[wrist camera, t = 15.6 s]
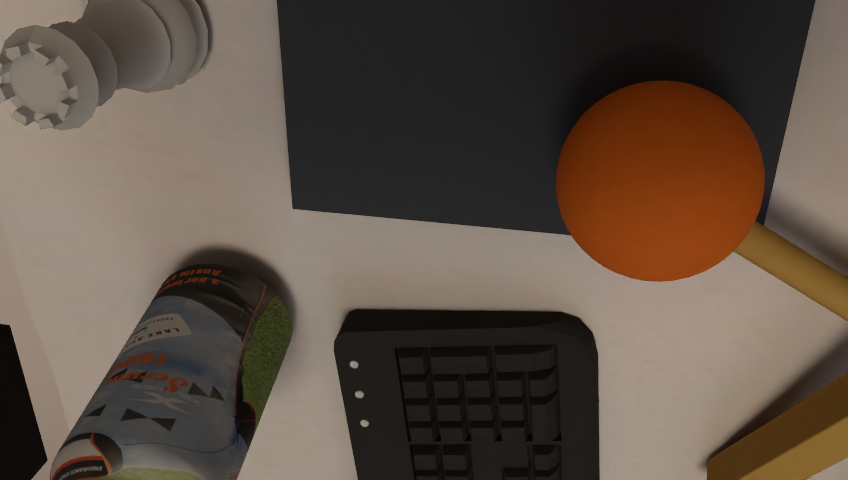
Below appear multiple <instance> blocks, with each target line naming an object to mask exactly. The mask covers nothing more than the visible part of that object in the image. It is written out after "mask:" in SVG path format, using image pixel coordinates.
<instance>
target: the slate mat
mask: <svg viewBox="0 0 848 480" xmlns="http://www.w3.org/2000/svg"><path fill="white" fill-rule="evenodd" d="M814 4H815V0H277V6H278V20H279V33H280V46H281V60H282V73H283V86H284V99H285V113H286V126H287V139H288V153H289V166H290V179H291V193H292V206H293V209H300V210H311V211H322V212H332V213H343V214H353V215H364V216H375V217H385V218H396V219H406V220H417V221H428V222H438V223H449V224H459V225H470V226H481V227H491V228H502V229H512V230H523V231H534V232H544V233H555V234H565V235H571V234H570V232H569V230H568V229H567V227H566V224H565V222H564V220H563V218H562V215H561V212H560V208H559V205H558V200H557V193H556V173H557V166H558V161H559V157H560V154H561V151H562V148H563V145H564V143H565V141H566V139H567V137H568V135H569V133H570V132H571V130H572V128H573V127H574V126H575V124H576V123H577V122H578V120H579V119H580V118H581V117H582V115H583V114H584V113H585V112H586V111H587V110H589V109H590V108H591V107H592V106H593V105H594V104H595V103H597V102H598V101H600V100H601V99H603V98H604V97H606V96H607V95H609V94H611V93H613V92H615V91H617V90H619V89H621V88H624V87H627V86H630V85H633V84H636V83H642V82H647V81H663V80H666V81H678V82H683V83H688V84H692V85H695V86H697V87H700V88H703V89H705V90H708V91H710V92H711V93H713V94H715V95H717V96H719V97H720V98H722V99H723V100H724V101H726V102H727V103H728V104H730V105H731V106H732V107H733V108H734V109H735V110H736V111H737V112H738V113H739V114H740V115H741V116H742V117H743V119H744V120H745V121H746V123H747V124H748V126H749V127H750V128H751V130H752V132H753V134H754V136H755V138H756V140H757V143H758V145H759V148H760V151H761V154H762V159H763V165H764V171H765V185H764V193H763V199H762V204H761V208H760V210H759V213H758V216H757V218H756V221H757V222H759V223H760V224H762V225H764V222H765V217H766V213H767V209H768V204H769V200H770V196H771V191H772V187H773V183H774V178H775V174H776V169H777V165H778V161H779V156H780V152H781V148H782V143H783V139H784V135H785V130H786V126H787V121H788V117H789V113H790V108H791V104H792V100H793V95H794V91H795V87H796V82H797V78H798V73H799V69H800V65H801V60H802V56H803V52H804V47H805V43H806V39H807V34H808V30H809V25H810V21H811V17H812V12H813V8H814Z"/></svg>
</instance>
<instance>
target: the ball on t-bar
mask: <svg viewBox="0 0 848 480" xmlns="http://www.w3.org/2000/svg"><path fill="white" fill-rule="evenodd" d="M764 185H765V171H764V165H763V159H762V154H761V151H760V148H759V145H758V143H757V140H756V138H755V136H754V134H753V132H752V130H751V128H750V127H749V126H748V124H747V123H746V121H745V120H744V119H743V117H742V116H741V115H740V114H739V113H738V112H737V111H736V110H735V109H734V108H733V107H732V106H731V105H730V104H728V103H727V102H726V101H724V100H723V99H722V98H720V97H719V96H717V95H715V94H713V93H711V92H710V91H708V90H705V89H703V88H700V87H697V86H695V85H692V84H688V83H683V82H678V81H666V80H663V81H647V82H642V83H636V84H633V85H630V86H627V87H624V88H621V89H619V90H617V91H615V92H613V93H611V94H609V95H607V96H606V97H604V98H603V99H601V100H600V101H598V102H597V103H595V104H594V105H593V106H592V107H591V108H590V109H589V110H587V111H586V112H585V113H584V114H583V115H582V117H581V118H580V119H579V120H578V122H577V123H576V124H575V126H574V127H573V128H572V130H571V132H570V133H569V135H568V137H567V139H566V141H565V143H564V145H563V148H562V151H561V154H560V157H559V161H558V166H557V173H556V193H557V200H558V205H559V208H560V212H561V215H562V218H563V220H564V222H565V224H566V227H567V229H568V230H569V232H570V234H571V235H572V237H573V238H574V240H575V241H576V242H577V243H578V245H579V246H580V247H581V248H582V249H583V250H584V251H585V252H586V253H587V254H588V255H589V256H590V257H591V258H592V259H594V260H595V261H596V262H598V263H599V264H601V265H602V266H604V267H606V268H608V269H609V270H611V271H613V272H616V273H618V274H621V275H624V276H627V277H630V278H634V279H638V280H644V281H673V280H678V279H682V278H687V277H691V276H693V275H696V274H699V273H701V272H704V271H706V270H708V269H710V268H711V267H713V266H715V265H716V264H718V263H720V262H721V261H723V260H724V259H725V258H726V257H728V256H729V255H730V254H731V253H732V252H733V251H734V252H736V253H737V254H739V255H741V256H742V257H744V258H745V259H747V260H749V261H750V262H752V263H754V264H755V265H757V266H758V267H760V268H762V269H763V270H765V271H767V272H768V273H770V274H771V275H773V276H775V277H776V278H778V279H780V280H781V281H783V282H785V283H786V284H788V285H789V286H791V287H793V288H794V289H796V290H798V291H799V292H801V293H802V294H804V295H806V296H807V297H809V298H811V299H812V300H814V301H815V302H817V303H819V304H820V305H822V306H824V307H825V308H827V309H829V310H830V311H832V312H833V313H835V314H837V315H838V316H840V317H842V318H843V319H845V320H846V321H848V278H847V277H846V276H844V275H843V274H841V273H839V272H838V271H836V270H835V269H833V268H831V267H830V266H828V265H826V264H825V263H823V262H822V261H820V260H818V259H817V258H815V257H814V256H812V255H810V254H809V253H807V252H806V251H804V250H802V249H801V248H799V247H797V246H796V245H794V244H793V243H791V242H789V241H788V240H786V239H785V238H783V237H781V236H780V235H778V234H777V233H775V232H773V231H772V230H770V229H768V228H767V227H765V226H764V225H762V224H760V223H759V222H757V221H756V218H757V216H758V213H759V210H760V208H761V204H762V199H763V193H764ZM847 457H848V373H846V374H845V375H843V376H842V377H840V378H838V379H837V380H835V381H834V382H832V383H830V384H829V385H827V386H826V387H824V388H822V389H821V390H819V391H818V392H816V393H814V394H813V395H811V396H810V397H808V398H806V399H805V400H803V401H802V402H800V403H798V404H797V405H795V406H794V407H792V408H790V409H789V410H787V411H786V412H784V413H782V414H781V415H779V416H778V417H776V418H774V419H773V420H771V421H770V422H768V423H766V424H765V425H763V426H762V427H760V428H758V429H757V430H755V431H753V432H752V433H750V434H749V435H747V436H745V437H744V438H742V439H741V440H739V441H737V442H736V443H734V444H733V445H731V446H729V447H728V448H726V449H725V450H723V451H721V452H720V453H718V454H717V455H715V456H713V457H712V458H710V459H709V460H708V462H707V480H805V479H807V478H809V477H811V476H813V475H815V474H817V473H819V472H820V471H822V470H824V469H826V468H828V467H830V466H832V465H833V464H835V463H837V462H839V461H841V460H843V459H845V458H847Z"/></svg>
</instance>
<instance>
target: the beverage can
mask: <svg viewBox="0 0 848 480" xmlns="http://www.w3.org/2000/svg"><path fill="white" fill-rule="evenodd" d="M291 335H292V324H291V319H290V316H289V313H288V311H287V309H286V307H285V305H284V303H283V302H282V301H281V299H280V298H279V297H278V295H277V294H276V293H275V292H274V291H273V290H272V289H271V288H270V287H269V286H267V285H266V284H265V283H263V282H262V281H261V280H259V279H258V278H256V277H254V276H252V275H250V274H248V273H246V272H244V271H241V270H239V269H236V268H233V267H229V266H225V265H217V264H198V265H192V266H188V267H185V268H183V269H180V270H178V271H176V272H175V273H173V274H172V275H170V276H169V277H168V278H167V279H166V280H165V282H164V283H163V284H162V286H161V288H160V289H159V291H158V292H157V294H156V296H155V297H154V299H153V300H152V302H151V304H150V305H149V307H148V308H147V310H146V312H145V313H144V315H143V316H142V318H141V320H140V321H139V323H138V324H137V326H136V328H135V329H134V331H133V333H132V334H131V336H130V337H129V339H128V341H127V342H126V344H125V345H124V347H123V349H122V350H121V352H120V353H119V355H118V357H117V358H116V360H115V361H114V363H113V365H112V366H111V368H110V370H109V371H108V373H107V374H106V376H105V378H104V379H103V381H102V382H101V384H100V386H99V387H98V389H97V390H96V392H95V394H94V395H93V397H92V398H91V400H90V402H89V403H88V405H87V406H86V408H85V410H84V411H83V413H82V415H81V416H80V418H79V419H78V421H77V423H76V424H75V426H74V427H73V429H72V431H71V432H70V434H69V435H68V437H67V439H66V440H65V442H64V443H63V445H62V447H61V448H60V450H59V452H58V453H57V455H56V457H55V459H54V461H53V463H52V468H51V473H50V480H237V478H238V475H239V472H240V470H241V467H242V465H243V462H244V459H245V457H246V454H247V452H248V449H249V447H250V444H251V441H252V439H253V436H254V434H255V431H256V428H257V426H258V423H259V421H260V418H261V416H262V413H263V410H264V408H265V405H266V403H267V400H268V397H269V395H270V392H271V390H272V387H273V385H274V382H275V379H276V377H277V374H278V372H279V369H280V366H281V364H282V361H283V359H284V356H285V354H286V351H287V348H288V346H289V343H290V341H291Z"/></svg>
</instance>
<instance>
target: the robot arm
mask: <svg viewBox="0 0 848 480" xmlns="http://www.w3.org/2000/svg"><path fill="white" fill-rule="evenodd" d="M46 461H47V456H46V453H45V449H44V446H43V442H42V439H41V435H40V432H39V428H38V424H37V421H36V417H35V414H34V410H33V406H32V403H31V399H30V396H29V392H28V389H27V385H26V382H25V378H24V374H23V371H22V367H21V364H20V360H19V356H18V353H17V350H16V346H15V342H14V339H13V335H12V331H11V328H10V325H4V324H0V480H31V479H32V478H33V477H34V475H35V474H36V473H37V472H38V471H39V470H40V469H41V467H42V466H43V465H44V464H45V463H46Z"/></svg>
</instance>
